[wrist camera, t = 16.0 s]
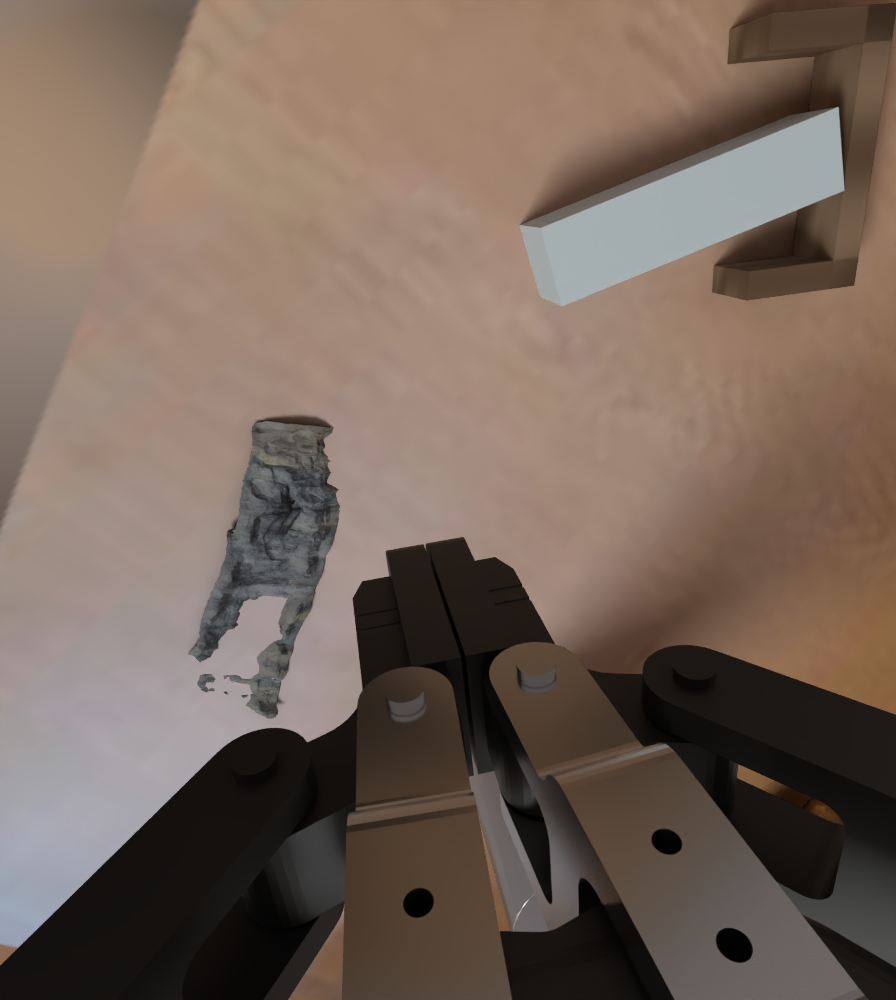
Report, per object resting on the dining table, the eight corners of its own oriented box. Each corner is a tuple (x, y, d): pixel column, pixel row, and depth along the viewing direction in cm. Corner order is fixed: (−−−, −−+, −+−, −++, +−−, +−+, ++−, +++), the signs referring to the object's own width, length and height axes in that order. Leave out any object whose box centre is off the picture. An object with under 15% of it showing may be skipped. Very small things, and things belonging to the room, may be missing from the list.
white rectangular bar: (795, 190, 39) (844, 190, 35) (538, 295, 38) (561, 306, 35) (787, 115, 37) (838, 106, 33) (518, 224, 37) (540, 227, 33)
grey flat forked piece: (260, 399, 38) (257, 410, 36) (373, 435, 40) (376, 447, 38) (175, 684, 45) (169, 706, 43) (276, 702, 47) (274, 724, 45)
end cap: (812, 278, 41) (854, 285, 38) (712, 292, 40) (746, 300, 37) (844, 20, 35) (897, 2, 32) (729, 29, 34) (772, 12, 31)
